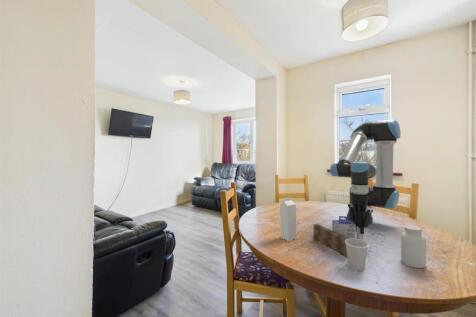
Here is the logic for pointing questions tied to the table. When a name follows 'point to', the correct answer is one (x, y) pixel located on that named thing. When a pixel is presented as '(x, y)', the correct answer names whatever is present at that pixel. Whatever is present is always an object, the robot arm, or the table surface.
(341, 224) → the ink cartridge box
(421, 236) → the pill bottle
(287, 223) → the milk
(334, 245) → the walnut board
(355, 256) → the dixie cup
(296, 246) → the table surface
